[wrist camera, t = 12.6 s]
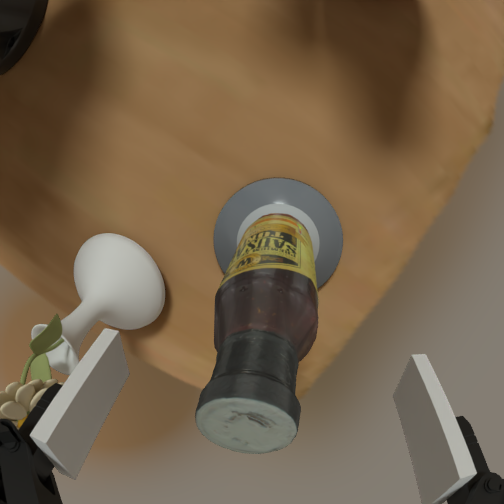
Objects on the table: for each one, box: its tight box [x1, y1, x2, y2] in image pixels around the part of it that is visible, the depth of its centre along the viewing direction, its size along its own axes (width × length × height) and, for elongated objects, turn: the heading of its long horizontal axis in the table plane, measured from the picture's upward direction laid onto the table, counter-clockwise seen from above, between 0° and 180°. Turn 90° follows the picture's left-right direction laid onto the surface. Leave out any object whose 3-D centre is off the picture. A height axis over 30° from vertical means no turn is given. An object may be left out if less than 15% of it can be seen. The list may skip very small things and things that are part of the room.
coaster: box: [214, 178, 343, 289], centre depth 29 cm, size 12×12×1 cm
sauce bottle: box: [195, 213, 318, 454], centre depth 19 cm, size 6×6×20 cm
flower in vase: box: [0, 233, 165, 430], centre depth 21 cm, size 13×11×25 cm
